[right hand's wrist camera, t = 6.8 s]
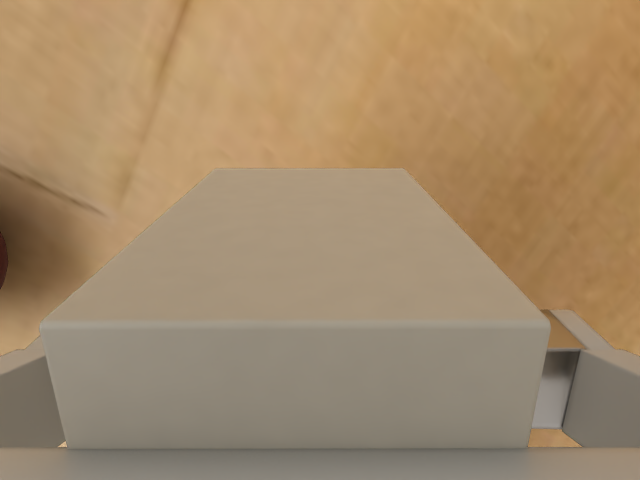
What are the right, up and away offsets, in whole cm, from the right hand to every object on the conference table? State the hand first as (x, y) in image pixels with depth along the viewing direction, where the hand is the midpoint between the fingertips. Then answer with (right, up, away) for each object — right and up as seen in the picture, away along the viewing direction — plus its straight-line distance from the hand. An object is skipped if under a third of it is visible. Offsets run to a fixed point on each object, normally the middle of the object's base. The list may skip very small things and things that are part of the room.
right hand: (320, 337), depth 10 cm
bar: (0, -9, +6) cm, 11 cm away
